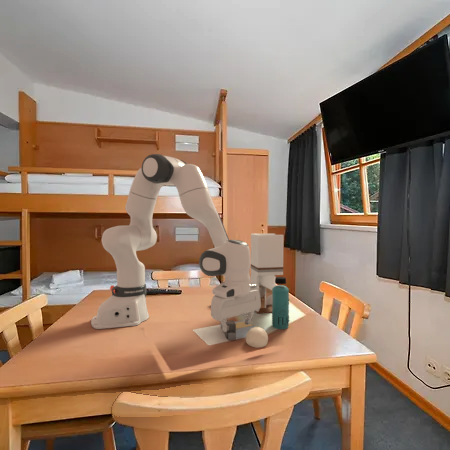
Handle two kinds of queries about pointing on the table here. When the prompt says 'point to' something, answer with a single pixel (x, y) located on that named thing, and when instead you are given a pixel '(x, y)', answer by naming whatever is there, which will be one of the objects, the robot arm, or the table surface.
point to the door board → (221, 333)
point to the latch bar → (231, 330)
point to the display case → (266, 266)
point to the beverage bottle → (280, 304)
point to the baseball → (257, 337)
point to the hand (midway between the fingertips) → (237, 327)
